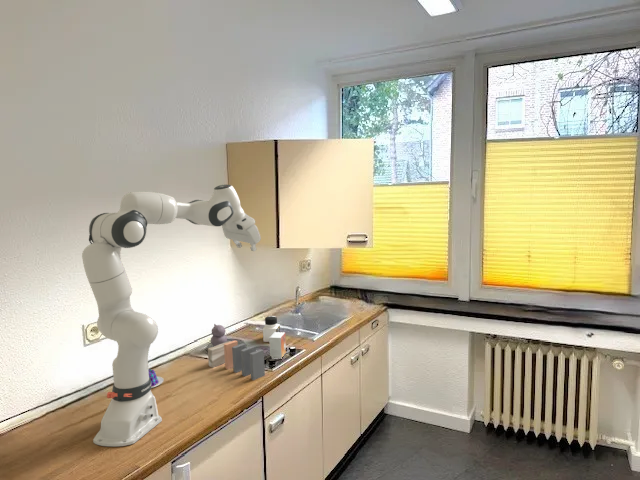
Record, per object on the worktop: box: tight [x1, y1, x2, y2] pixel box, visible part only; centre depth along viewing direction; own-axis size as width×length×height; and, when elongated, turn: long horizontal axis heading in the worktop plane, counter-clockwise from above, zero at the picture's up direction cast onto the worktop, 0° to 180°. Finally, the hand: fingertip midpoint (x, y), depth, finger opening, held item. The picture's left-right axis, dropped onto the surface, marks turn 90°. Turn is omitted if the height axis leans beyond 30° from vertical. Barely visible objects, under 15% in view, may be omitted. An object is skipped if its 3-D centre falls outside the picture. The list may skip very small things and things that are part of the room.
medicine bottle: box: [262, 315, 281, 343], centre depth 229 cm, size 7×7×12 cm
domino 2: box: [241, 345, 256, 377], centre depth 189 cm, size 2×6×11 cm, turn 138°
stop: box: [207, 340, 232, 368], centre depth 201 cm, size 3×12×8 cm, turn 138°
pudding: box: [148, 368, 164, 389], centre depth 183 cm, size 12×12×5 cm
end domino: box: [224, 340, 239, 370], centre depth 196 cm, size 2×6×11 cm, turn 138°
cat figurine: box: [210, 323, 228, 346], centre depth 217 cm, size 8×8×12 cm
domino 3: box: [250, 349, 266, 381], centre depth 185 cm, size 2×6×11 cm, turn 138°
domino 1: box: [232, 343, 247, 374], centre depth 192 cm, size 2×6×11 cm, turn 138°
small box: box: [268, 331, 287, 360], centre depth 206 cm, size 8×6×10 cm
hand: (246, 248), depth 191 cm, fingers open, 8 cm apart
